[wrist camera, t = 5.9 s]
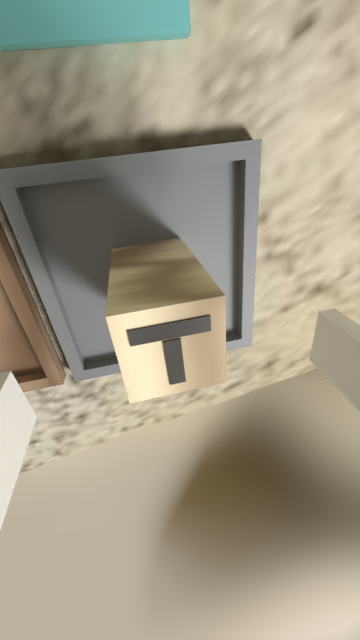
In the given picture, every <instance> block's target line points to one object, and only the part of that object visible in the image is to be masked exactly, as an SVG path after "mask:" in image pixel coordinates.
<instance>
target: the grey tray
mask: <svg viewBox="0 0 360 640" xmlns="http://www.w3.org/2000/svg"><path fill="white" fill-rule="evenodd" d="M261 142H262V139H256V140H247V141H238V142H230V143H221V144H213V145H204V146H195V147H187V148H178V149H169V150H161V151H152V152H144V153H135V154H126V155H118V156H109V157H100V158H92V159H83V160H75V161H66V162H57V163H49V164H40V165H31V166H23V167H14V168H6V169H0V200H1V203H2V205H3V208H4V210H5V212H6V215H7V217H8V220H9V222H10V224H11V227H12V229H13V232H14V234H15V237H16V239H17V241H18V244H19V246H20V249H21V251H22V254H23V256H24V258H25V261H26V263H27V266H28V268H29V270H30V273H31V275H32V278H33V280H34V283H35V285H36V287H37V290H38V292H39V295H40V297H41V300H42V302H43V304H44V307H45V309H46V312H47V314H48V317H49V319H50V321H51V324H52V326H53V329H54V331H55V333H56V336H57V338H58V341H59V343H60V346H61V348H62V350H63V353H64V355H65V358H66V360H67V363H68V365H69V367H70V370H71V372H72V375H73V377H74V379H75V382H76V381H81V380H86V379H91V378H96V377H101V376H106V375H110V374H115V373H120V372H121V370H120V366H119V363H118V359H117V356H116V352H115V349H114V345H113V342H112V338H111V335H110V331H109V328H108V324H107V321H106V317H105V316H106V305H107V294H108V283H109V272H110V261H111V251H112V248H117V247H124V246H130V245H137V244H143V243H150V242H156V241H163V240H169V239H176V238H181V239H182V241H183V242H184V243H185V244H186V246H187V247H188V248H189V250H190V251H191V252H192V253H193V255H194V256H195V257H196V258H197V260H198V261H199V262H200V264H201V265H202V266H203V267H204V269H205V270H206V271H207V273H208V274H209V275H210V276H211V278H212V279H213V280H214V282H215V283H216V284H217V285H218V287H219V288H220V289H221V291H222V292H223V293H224V294H225V304H226V351H228V350H233V349H238V348H243V347H248V346H252V331H253V310H254V289H255V268H256V247H257V226H258V205H259V184H260V163H261Z"/></svg>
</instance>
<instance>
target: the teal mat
mask: <svg viewBox="0 0 360 640" xmlns="http://www.w3.org/2000/svg"><path fill="white" fill-rule="evenodd" d="M190 33H191V28H190V11H189V0H0V51H12V50H26V49H40V48H55V47H69V46H83V45H97V44H111V43H125V42H139V41H154V40H168V39H182V38H188V36H189V34H190Z"/></svg>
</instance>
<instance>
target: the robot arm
mask: <svg viewBox="0 0 360 640" xmlns="http://www.w3.org/2000/svg"><path fill="white" fill-rule="evenodd" d="M310 360H311V361H312V362H313V363H314V364H315V366H316V367H317V368H318V369H319V370H320V371H321V372H322V373H323V374H324V375H325V376H326V377H327V378H328V379H329V380H330V381H331V382H332V383H333V384H334V385H335V386H336V388H337V389H338V390H339V391H340V392H341V393H342V394H343V395H344V396H345V397H346V398H347V399H348V400H349V401H350V402H351V403H352V404H353V405H354V406H355V408H356V409H357V410H358V411H359V412H360V326H359V325H358V324H356V323H355V322H354V321H352V320H351V319H349V318H348V317H346V316H345V315H343V314H342V313H340V312H339V311H338V310H336V309H329V310H324V311H319V314H318V319H317V324H316V329H315V335H314V340H313V345H312V350H311V355H310ZM36 419H37V416H36V414H35V413H34V411H33V409H32V407H31V405H30V404H29V402H28V400H27V398H26V397H25V395H24V393H23V391H22V389H21V388H20V386H19V384H18V382H17V381H16V379H15V377H14V375H13V374H12V372H11V371H7V372H2V373H0V529H1V526H2V523H3V520H4V517H5V514H6V511H7V508H8V505H9V502H10V499H11V495H12V492H13V489H14V486H15V483H16V480H17V477H18V474H19V471H20V468H21V465H22V462H23V459H24V456H25V453H26V450H27V447H28V444H29V441H30V438H31V434H32V431H33V428H34V425H35V422H36Z"/></svg>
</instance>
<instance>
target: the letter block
mask: <svg viewBox="0 0 360 640" xmlns="http://www.w3.org/2000/svg"><path fill="white" fill-rule="evenodd" d="M105 317H106V321H107V324H108V328H109V331H110V335H111V338H112V342H113V345H114V349H115V352H116V356H117V359H118V363H119V366H120V370H121V373H122V377H123V380H124V384H125V387H126V391H127V394H128V398H129V402H130V403H133V402H138V401H142V400H147V399H151V398H156V397H161V396H165V395H170V394H174V393H179V392H184V391H188V390H193V389H197V388H202V387H207V386H211V385H216V384H221V383H225V382H227V374H226V304H225V294H224V293H223V292H222V291H221V289H220V288H219V287H218V285H217V284H216V283H215V282H214V280H213V279H212V278H211V276H210V275H209V274H208V273H207V271H206V270H205V269H204V267H203V266H202V265H201V264H200V262H199V261H198V260H197V258H196V257H195V256H194V255H193V253H192V252H191V251H190V250H189V248H188V247H187V246H186V244H185V243H184V242H183V241H182V239H181V238H176V239H169V240H163V241H156V242H150V243H143V244H137V245H130V246H124V247H117V248H112V251H111V261H110V272H109V283H108V294H107V305H106V316H105Z"/></svg>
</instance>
